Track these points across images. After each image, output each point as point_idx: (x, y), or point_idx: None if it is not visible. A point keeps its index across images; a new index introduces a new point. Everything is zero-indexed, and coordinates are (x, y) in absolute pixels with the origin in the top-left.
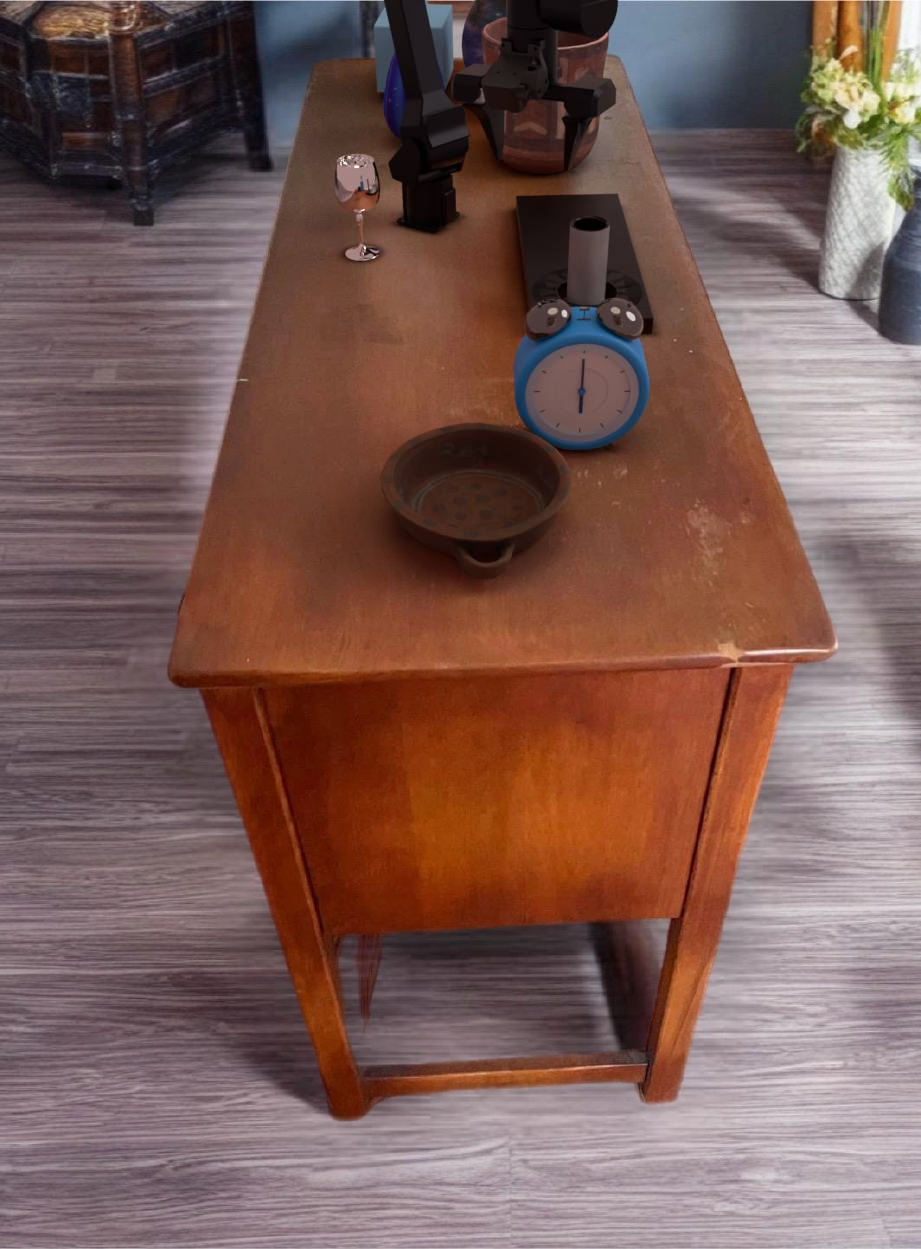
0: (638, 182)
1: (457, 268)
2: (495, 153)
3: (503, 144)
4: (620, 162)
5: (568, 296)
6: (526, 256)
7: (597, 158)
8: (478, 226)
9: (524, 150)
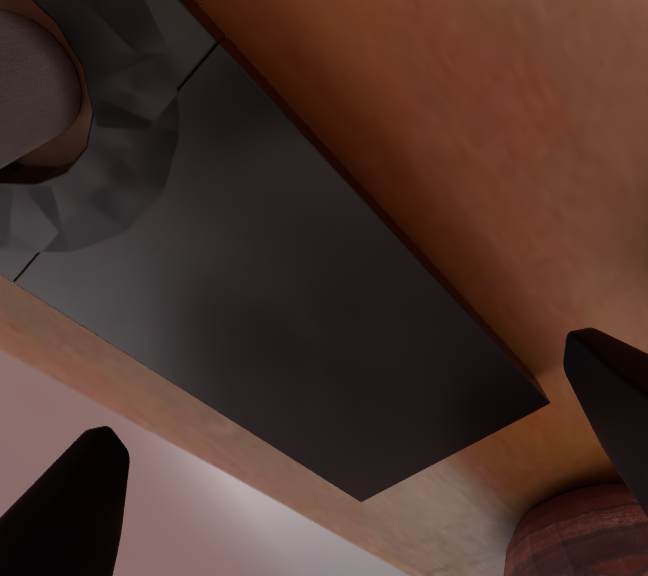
0: (388, 542)
1: (514, 15)
2: (617, 357)
3: (609, 454)
4: (456, 566)
5: (4, 20)
6: (316, 162)
7: (498, 560)
8: (582, 274)
9: (618, 525)
